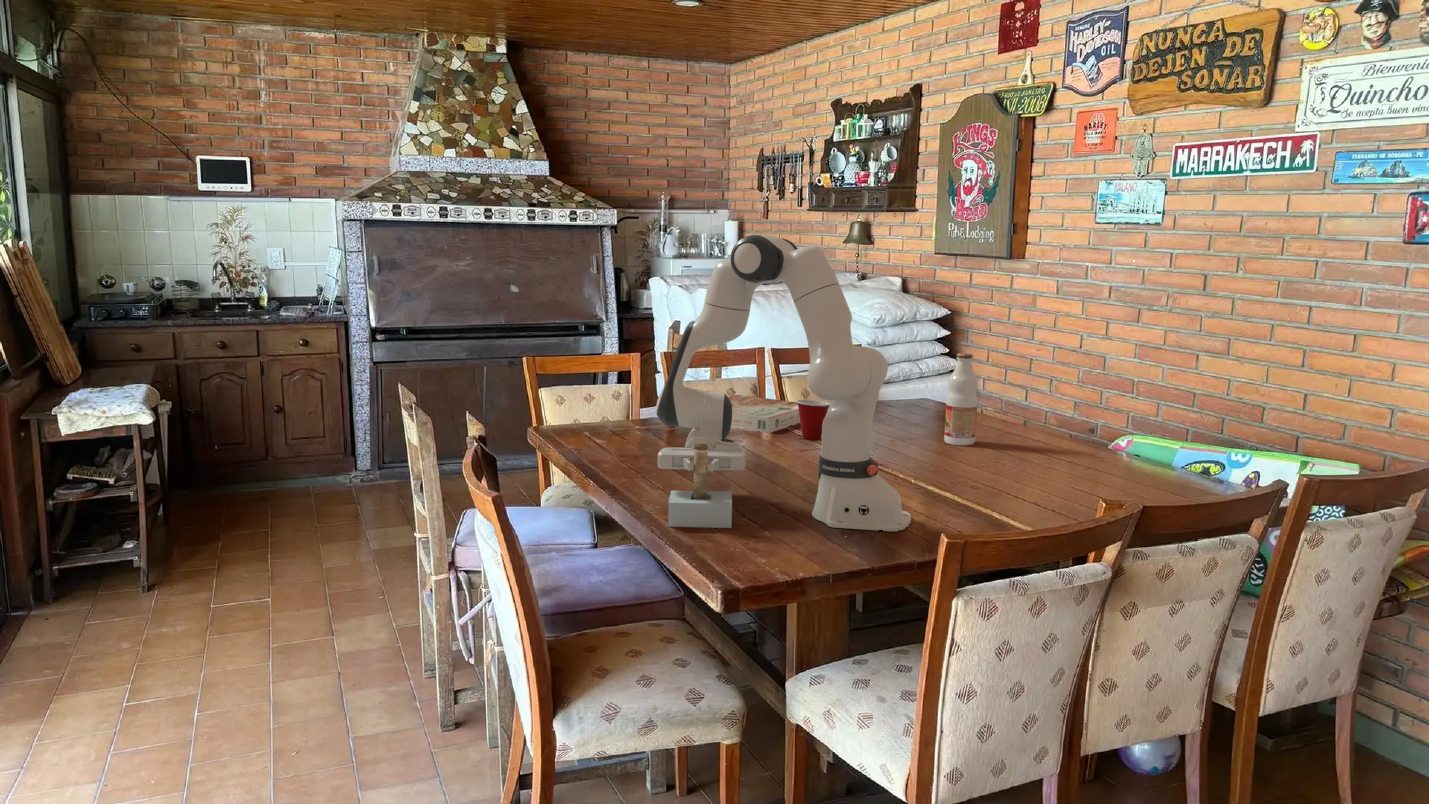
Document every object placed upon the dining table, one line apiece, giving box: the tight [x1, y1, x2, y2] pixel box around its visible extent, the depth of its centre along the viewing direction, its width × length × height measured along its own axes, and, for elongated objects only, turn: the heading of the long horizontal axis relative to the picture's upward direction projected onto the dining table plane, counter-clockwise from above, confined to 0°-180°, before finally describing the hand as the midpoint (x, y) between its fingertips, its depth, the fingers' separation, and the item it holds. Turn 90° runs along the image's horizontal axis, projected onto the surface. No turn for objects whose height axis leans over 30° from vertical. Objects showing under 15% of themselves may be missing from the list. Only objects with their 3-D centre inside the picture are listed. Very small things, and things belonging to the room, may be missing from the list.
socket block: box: [667, 490, 733, 529], centre depth 218 cm, size 14×10×6 cm
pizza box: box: [701, 394, 800, 434], centre depth 333 cm, size 32×5×32 cm
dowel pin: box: [693, 443, 708, 499], centre depth 216 cm, size 3×3×12 cm
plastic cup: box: [795, 399, 831, 441], centre depth 305 cm, size 11×11×12 cm
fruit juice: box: [943, 352, 979, 447], centre depth 300 cm, size 9×9×28 cm
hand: (700, 467), depth 215 cm, fingers closed on dowel pin, 3 cm apart
